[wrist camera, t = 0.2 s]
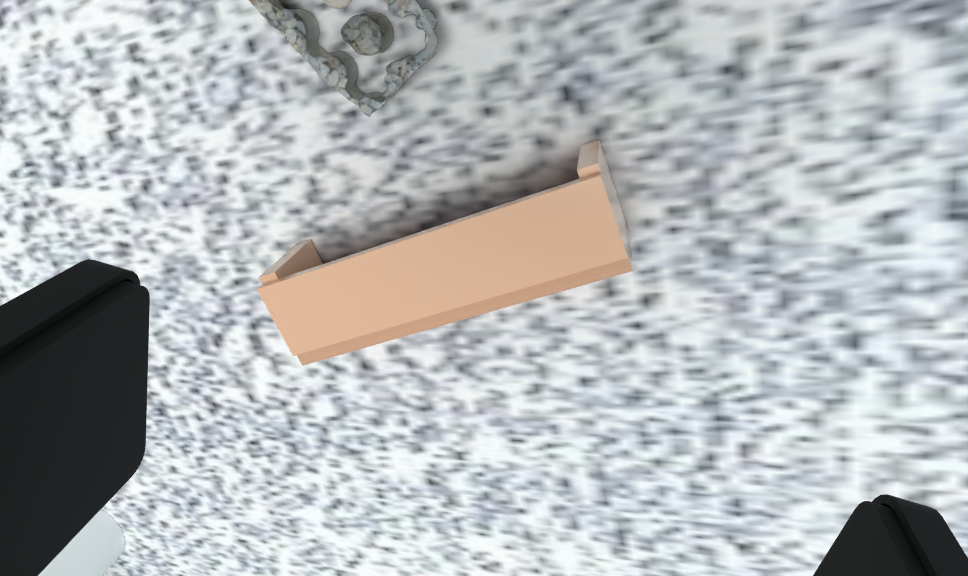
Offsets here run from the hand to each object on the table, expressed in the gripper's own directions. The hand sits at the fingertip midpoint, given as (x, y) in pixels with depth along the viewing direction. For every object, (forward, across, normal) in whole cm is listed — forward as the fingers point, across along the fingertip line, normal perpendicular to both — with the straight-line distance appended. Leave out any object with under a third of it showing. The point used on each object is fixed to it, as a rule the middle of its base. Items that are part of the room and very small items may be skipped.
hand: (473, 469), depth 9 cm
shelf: (+37, +6, +12) cm, 39 cm away
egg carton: (+37, +14, -1) cm, 40 cm away
